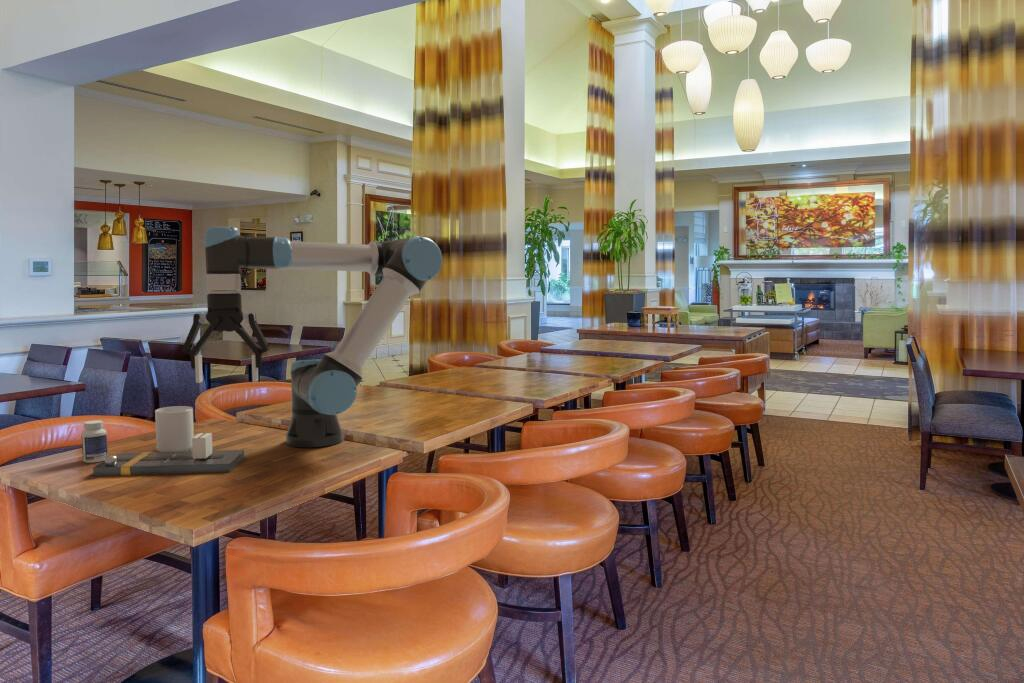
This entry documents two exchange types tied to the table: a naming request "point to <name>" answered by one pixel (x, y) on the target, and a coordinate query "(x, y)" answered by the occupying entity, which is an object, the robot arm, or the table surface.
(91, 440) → the pill bottle
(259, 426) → the table surface
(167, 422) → the mug
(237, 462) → the console board
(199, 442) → the fader tab
